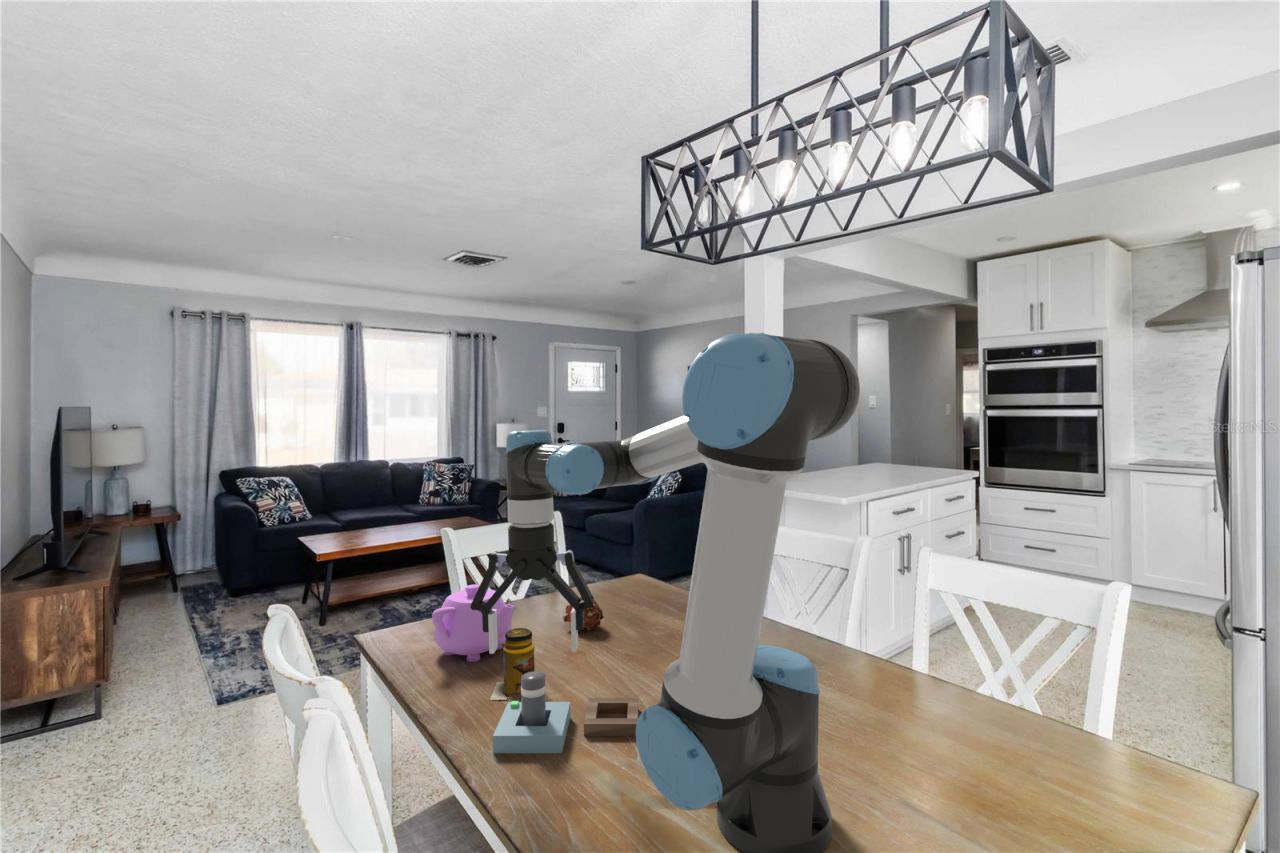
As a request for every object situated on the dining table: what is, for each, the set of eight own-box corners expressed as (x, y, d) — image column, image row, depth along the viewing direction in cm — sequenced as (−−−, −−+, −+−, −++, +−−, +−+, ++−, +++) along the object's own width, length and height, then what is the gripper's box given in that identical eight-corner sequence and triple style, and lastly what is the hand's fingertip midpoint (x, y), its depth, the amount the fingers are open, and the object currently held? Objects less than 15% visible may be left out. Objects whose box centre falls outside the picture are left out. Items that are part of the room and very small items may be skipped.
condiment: (534, 699, 117) (533, 638, 117) (489, 701, 117) (488, 639, 117) (538, 682, 125) (538, 624, 124) (497, 683, 124) (496, 625, 124)
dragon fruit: (599, 642, 150) (568, 636, 158) (617, 614, 155) (585, 610, 163) (581, 619, 146) (550, 614, 154) (599, 591, 152) (568, 588, 160)
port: (562, 760, 97) (561, 731, 97) (493, 760, 97) (492, 732, 97) (570, 724, 108) (570, 698, 108) (508, 724, 108) (508, 698, 108)
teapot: (475, 681, 125) (474, 608, 125) (409, 661, 135) (407, 594, 135) (537, 647, 142) (536, 584, 142) (474, 632, 152) (473, 572, 152)
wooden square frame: (637, 742, 102) (637, 723, 102) (584, 742, 102) (583, 724, 102) (638, 715, 111) (638, 697, 111) (588, 715, 111) (588, 698, 111)
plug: (544, 741, 101) (543, 682, 100) (519, 741, 101) (518, 682, 100) (548, 728, 105) (547, 671, 104) (524, 728, 105) (523, 671, 105)
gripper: (607, 517, 105) (610, 640, 106) (462, 520, 105) (466, 642, 106) (604, 525, 98) (607, 657, 98) (449, 528, 98) (452, 660, 98)
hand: (534, 650), depth 102 cm, fingers open, 13 cm apart
